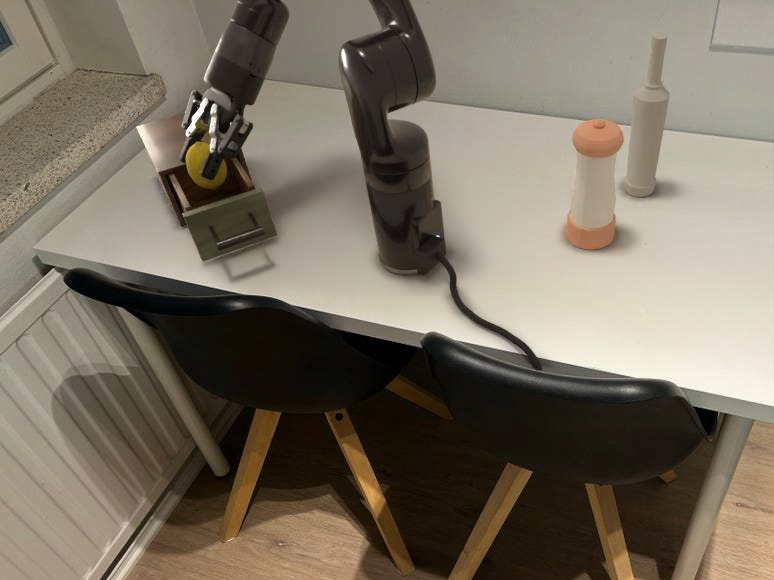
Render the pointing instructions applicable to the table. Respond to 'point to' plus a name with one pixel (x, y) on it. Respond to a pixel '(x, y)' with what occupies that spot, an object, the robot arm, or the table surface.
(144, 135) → the cabinet
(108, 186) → the table surface
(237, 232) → the drawer
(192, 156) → the lemon
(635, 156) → the bottle
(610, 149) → the pepper shaker
